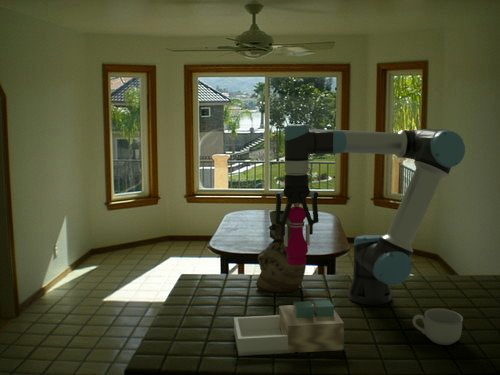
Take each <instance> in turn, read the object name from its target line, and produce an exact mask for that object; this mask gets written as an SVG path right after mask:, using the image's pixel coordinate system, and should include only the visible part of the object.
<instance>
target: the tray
mask: <svg viewBox="0 0 500 375" xmlns="http://www.w3.org/2000/svg"><path fill="white" fill-rule="evenodd" d="M233 333H234V339H235V346H236V349H237V355H238V356H239V357H242V356H256V355H257V356H258V355H259V356H261V355H277V354H289V353H288V335H282V333H281V331H280V316H279V314H276V315H275V314H274V315H257V316H256V315H255V316H235V317H233Z"/></svg>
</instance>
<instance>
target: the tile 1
mask: <svg viewBox="0 0 500 375" xmlns="http://www.w3.org/2000/svg"><path fill="white" fill-rule="evenodd" d="M312 304H313V303H312V302H311V301H309V300H308V301H293V305H294V314H295V316H296V318H307V317H314V307H313V305H312Z"/></svg>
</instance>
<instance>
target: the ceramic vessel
mask: <svg viewBox="0 0 500 375" xmlns="http://www.w3.org/2000/svg"><path fill="white" fill-rule="evenodd" d="M284 210H285V209H283V210H281V212H280V220H281V219H282V216H283V213H284ZM275 212H276V210H271V211H269V219H270V223H271V225H270V226H269V227H268V229H269V238H271V239H272V241H271V242H270V243H269V244H268V245H267V247H266V248H265V249H263V250H262V251H261V252H259V254H258V256H257V261H258V265H259V269H260V273H259V275H258V277H257V280H256V282H255V286H256V288H257V290H259V291H261V292H265V293H266V292H267V293H274V294H275V293H276V294H288V293H292V292H295V291H297V290H298V289H299V287H301V284H302V283H303V279H304V277H305V273H306V267H307V266H306V264H307V263H306V264H304V265H290V264H288V263H287V257H288V254H287V253H286V251H285V250H286V246H285V245H284V236H282V235H281V226H280V225H279V224H276V223H275ZM289 221H290V220H289V219H288V218H287V221H286V224H285V225H287V226H288V240H289V237H290V231H291V230H290V226H289Z"/></svg>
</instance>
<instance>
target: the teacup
mask: <svg viewBox="0 0 500 375" xmlns="http://www.w3.org/2000/svg"><path fill="white" fill-rule="evenodd" d="M418 319H420V320H422V323H423V327H421V326H420V325H418V323H417V321H418ZM463 321H464V317H463V316H462V315H461V314H460V313H458V312H457V311H454V310H451V309H446V308H429V309H427V310H425V311H424V315H422V314H416V315H414V316H413V318H412V325H413V326H414V327H415V328H416V329H417V330H419V331H421V333H422V334H423V335H425V336H426V337H427V338H428V339H429V340H430V341H431V342H433V343H435V344H437V345H440V346H449V345H453V344H454V343H456V342H458V340H460V339H461V336H462V331H463Z"/></svg>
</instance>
